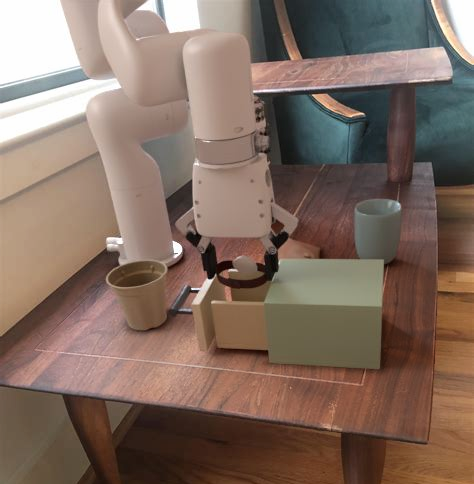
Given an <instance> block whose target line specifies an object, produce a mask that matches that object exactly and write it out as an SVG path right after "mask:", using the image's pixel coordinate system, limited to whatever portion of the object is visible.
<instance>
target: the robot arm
mask: <svg viewBox="0 0 474 484" xmlns="http://www.w3.org/2000/svg"><path fill="white" fill-rule="evenodd" d="M148 1H149V0H59V2H60V5H61V9H62V12H63V15H64V18H65V22H66V25H67V28H68V31H69V34H70V38H71V41H72V44H73V47H74V50H75V54H76V57H77V59H78V62H79V65H80V67H81V70H82V71H83V73H84V74H85V75H86V76H87V78H89V79H91V80H93V81H107V80H113V79H116V80H117V82H118V85H119V86H115V87H111V88H106V89H103V90H100V91H98V92H96V93H95V94H93V95H92V96H91V97H90V98H89V100H88V101H87V103H86V106H85V117H86V121H87V124H88V127H89V129H90V132H91V134H92V138H93V139H94V142H95V145H96V147H97V149H98V152H99V155H100V158H101V162H102V164H103V169H104V172H105V176H106V181H107V184H108V188H109V191H110V192H109V193H110V196H111V200H112V204H113V209H114V213H115V216H116V221H117V226H118V230H119V234H120V237H107V238H106V240H105V245H106V251H107V252H111V253H112V252H118V253H119V256H118V259H117V260H118V264H119V266H120V265H123V264H126V263H129V262H133V261H138V260H157V261H161V262H163V263H165V264H166V266H167V268H169V267H171V266H173V265H175V264H176V263H178V262H179V261H180V260H181V259H182V257H183V255H184V250H183V247H182V245H181V244H180V243H178V242H176V241H174V239H173V234H172V229H171V224H170V223H171V222H170V219H169V218H170V217H169V213H168V207H167V202H166V197H165V191H164V185H163V181H162V180H163V179H162V176H161V171H160V167H159V165H158V163H157V161H156V160H155V159H154V157H152V156H151V155H150V154H149V153H148V152H147V151H145V150H144V149H143V148H142V144H145V143H147V142H149V141H153V140H158V139H160V138H161V139H162V138H166V137H170V136H173V135H176V134H179V133H181V132H182V131H183V130H184V129H185V128H186V127H187V125H188V122H189V110H190V116H191V125H192V130H193V139H194V144H195V151H196V158H195V159H194V161H193V164H192V207H190V208H189V210H187V211H186V212H185V213H184V214H183V215H181V216H180V217H179V218H178V219H177V221H175V223H174V226H175V228H176V229H177V230H178V231H179V232H180V233H181V234H182V235H183V236H184V237H185V239H186V241H187V242H188V243H190V245H192V246H193V247H194V248H195V249H196V251H197V253H198V254H200V258H201V263H202V270H203V272H206V279H211V280H212V279H213V278H214V276H215V274H216V273H215V267H216V265H217V264H218V263H219V262H218V258H217V257H218V256H217V251H216V246H215V244H214V243H212V240H213V239H258V241H259V242H260V243H261V244H262V246H263V248H264V249H265V253H264V254H263V262H264V265H265V272H266V280H268V281H272V279H273V276H274V273H275V272H278V270H279V260H278V249H279V248H280V247H281V246H282V245H283V244H284V243H285V242H286V241H287V240H288V238H290V237H291V236H292V234H293V233H294V232H295V230H296V229H297V227H298V226H299V223H300V220H299V218H298V217H297V216H296V215H294V214H293V213H291V212H289V211H288V210H286V209H285V208H283V207H282V206H280V205H278V204H277V203H276V199H275V194H274V187H273V180H272V174H271V171H270V167H269V165H268V162H267V159H266V156H265V154H264V153H258V152H259V151H260V149H263V148H270V144H269V141H270V137H269V135H268V136H267V135H266V136H262V135H260V134H259V133H258V129H256V119H255V107H254V95H255V94H254V84H253V72H252V61H251V59H252V58H251V50H250V44H249V42H248V39H247V38H246V37H245V35H243V34H241V33H239V32H230V31H228V32H226V31H225V32H220V31H218V30H216V29H213V28H207V27H205V28H203V27H202V28H195V29H189V30H183V31H175V32H170V30H169V28H168V25H167V24H166V22H165V20H164V19H163V18H162V17H161V15H159V14H158V13H157V12H156V11H154V10H151V9H140V7H142V6H143V5H145V4H146V3H147V2H148ZM188 103H189V106H188ZM276 220H277V221H278V222H279V223H281V224H282V225H283V226H284V227H283V228H282V229H281V230H280V231H279V232H278V233H277V234H276V233H275V231H274V230H273V228H272V225H273V224H275V223H276ZM192 221H194V225H195V228H193V226H192V225H191V222H192Z"/></svg>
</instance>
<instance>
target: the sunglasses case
mask: <svg viewBox="0 0 474 484" xmlns="http://www.w3.org/2000/svg"><path fill="white" fill-rule="evenodd" d="M321 251H322V250H321V247H319V246H316V245H311V244H309V243H306V242H301V241H298V240H294V239H292V238H290V237H289V238H288V240H287V241H286V242H285V243H284V244H283V245H282V246H281V247H280V248H279V249H278V260H279V262H280V259H321V257H320V255H321Z"/></svg>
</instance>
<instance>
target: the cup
mask: <svg viewBox="0 0 474 484" xmlns="http://www.w3.org/2000/svg"><path fill="white" fill-rule="evenodd" d="M402 213H403V207H402V205H401V203H400V202H399V201H397V200H394V199H388V198H370V199H366V200H362V201H359V202H358V203H357V204H356V205H355V206H354V210H353V219H354V220H353V235H354V237H353V238H354V244H355V245H354V247H355V252H356V255H357V257H358V259H377V260H384V266H385V265H388V264H390V263H392V261H394V259H395V258H396V256H397V254H398V251H399V248H400V243H401V235H402V233H401V232H402V219H403V218H402V217H403V214H402Z"/></svg>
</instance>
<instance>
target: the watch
mask: <svg viewBox="0 0 474 484" xmlns="http://www.w3.org/2000/svg"><path fill="white" fill-rule="evenodd" d="M217 263H218V264H217V265H216V267H215V273H216V275H217V278H218V281H219V282H220V283H221V284H223V285H224V286H226V287H228V288H230V287H231V288H235V289H240V288H245V289H250V288H256V287H259V286H261V285H263V284H265V283H266V282H267V281H268V280H266V272H265V263H262V262H257V261H255V260H254V259H253V258H252V257H250V256H247V255H244V254H242V255H239V256H237V257H236V258H235V259H230V260H229V259H228V260H222V261H220V262H217ZM229 269H237V270H238V271H239V272H241V273H243V274H246V275H251V274H254V273H255V272H256V271H258V272H263V273H265V274H264V275H262V276H260V277H258V278H255V279H251V280H238V279H231V278H229V277H224V276H223V277H222V276H220V275H219V274H220V273H221V272H222V271H223V272H224V271H227V270H229Z"/></svg>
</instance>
